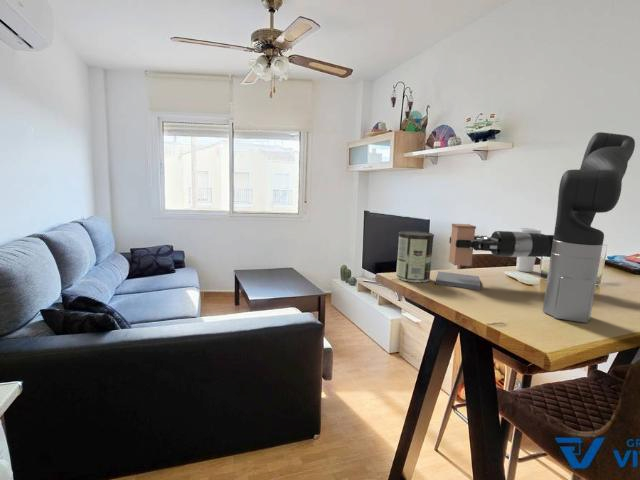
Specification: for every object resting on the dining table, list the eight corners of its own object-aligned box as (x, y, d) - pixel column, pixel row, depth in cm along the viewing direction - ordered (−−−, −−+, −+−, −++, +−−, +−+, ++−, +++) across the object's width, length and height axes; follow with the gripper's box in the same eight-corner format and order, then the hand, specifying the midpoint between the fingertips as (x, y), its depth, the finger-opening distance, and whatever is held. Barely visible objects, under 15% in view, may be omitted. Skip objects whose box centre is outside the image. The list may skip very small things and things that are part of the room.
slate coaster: (479, 289, 102) (480, 285, 102) (435, 283, 106) (435, 279, 106) (478, 280, 113) (478, 276, 113) (438, 274, 117) (438, 271, 117)
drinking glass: (529, 269, 132) (535, 228, 130) (538, 273, 126) (545, 230, 123) (510, 267, 133) (515, 227, 131) (518, 272, 126) (524, 229, 124)
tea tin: (471, 265, 106) (476, 226, 104) (453, 265, 106) (457, 225, 104) (465, 261, 111) (469, 224, 110) (448, 261, 112) (451, 223, 110)
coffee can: (415, 273, 118) (419, 230, 116) (436, 281, 109) (441, 235, 106) (388, 274, 114) (392, 230, 112) (408, 283, 105) (412, 235, 103)
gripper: (500, 228, 114) (446, 226, 114) (525, 235, 100) (462, 232, 100) (498, 251, 115) (444, 249, 116) (521, 261, 101) (460, 259, 101)
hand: (453, 241), depth 108 cm, fingers closed on tea tin, 5 cm apart
